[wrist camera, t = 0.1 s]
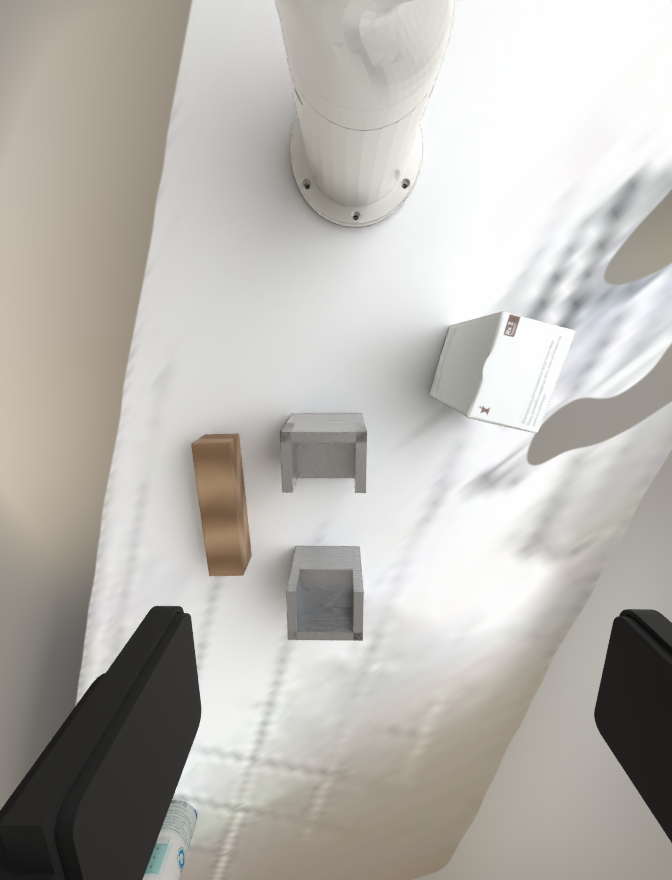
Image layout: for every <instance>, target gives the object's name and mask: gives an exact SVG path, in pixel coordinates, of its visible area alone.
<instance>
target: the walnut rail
mask: <svg viewBox="0 0 672 880" xmlns="http://www.w3.org/2000/svg"><path fill="white" fill-rule="evenodd" d="M191 445H192V452H193V459H194V467H195V474H196V482H197V489H198V496H199V504H200V511H201V519H202V526H203V533H204V541H205V548H206V556H207V563H208V570H209V576H241V575H244V573H245V570H246V568H247V565H248V563H249V560H250V558H251V546H250V536H249V527H248V517H247V507H246V497H245V488H244V478H243V468H242V458H241V448H240V439H239V434H212V435H204V436H202V437H201V438H200V439H198V440H197V441H195V442H194V443H193V444H191Z"/></svg>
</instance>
